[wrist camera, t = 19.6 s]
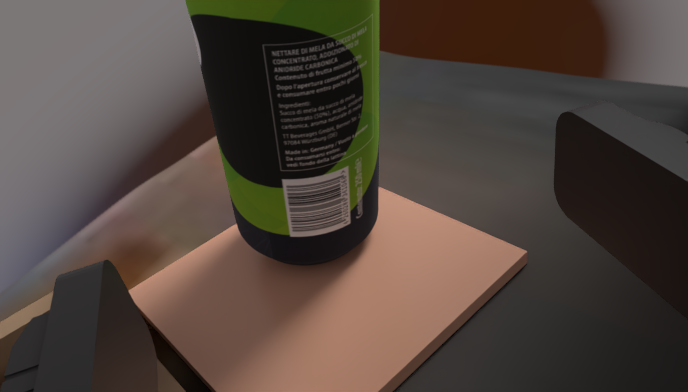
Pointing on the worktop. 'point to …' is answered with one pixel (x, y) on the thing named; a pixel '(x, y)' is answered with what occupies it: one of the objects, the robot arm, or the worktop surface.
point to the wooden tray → (10, 329)
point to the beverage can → (295, 119)
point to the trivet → (327, 304)
